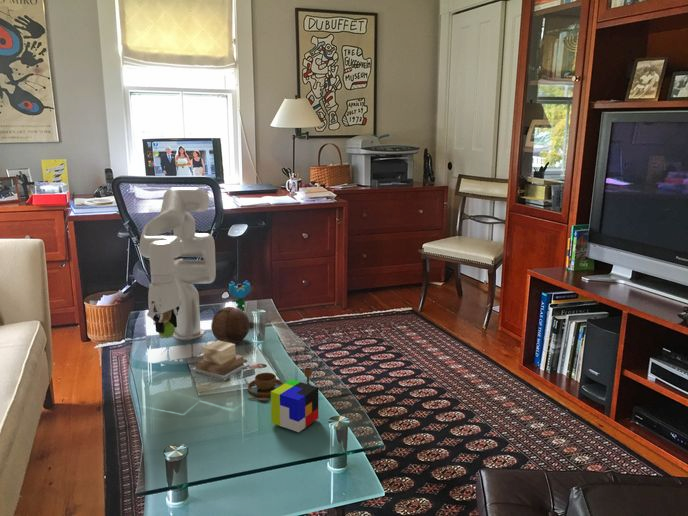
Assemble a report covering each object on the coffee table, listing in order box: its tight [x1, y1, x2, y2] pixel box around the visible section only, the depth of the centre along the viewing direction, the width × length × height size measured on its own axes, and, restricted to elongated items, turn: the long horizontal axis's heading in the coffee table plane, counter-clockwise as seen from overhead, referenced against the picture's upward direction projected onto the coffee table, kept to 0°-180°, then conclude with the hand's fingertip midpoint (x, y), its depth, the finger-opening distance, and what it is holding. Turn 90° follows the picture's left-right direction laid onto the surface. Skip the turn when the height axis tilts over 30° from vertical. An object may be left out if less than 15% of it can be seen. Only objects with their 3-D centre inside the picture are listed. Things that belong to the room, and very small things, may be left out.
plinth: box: [195, 339, 245, 376], centre depth 208 cm, size 12×12×8 cm
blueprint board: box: [189, 362, 251, 380], centre depth 209 cm, size 16×14×1 cm
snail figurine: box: [157, 310, 175, 339], centre depth 196 cm, size 5×6×12 cm
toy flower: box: [228, 280, 251, 312], centre depth 259 cm, size 9×9×18 cm
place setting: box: [247, 367, 312, 402], centre depth 193 cm, size 18×20×6 cm
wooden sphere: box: [210, 306, 250, 345], centre depth 233 cm, size 15×15×15 cm
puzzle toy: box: [270, 379, 319, 433], centre depth 172 cm, size 10×10×10 cm
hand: (166, 329), depth 196 cm, fingers closed on snail figurine, 5 cm apart
